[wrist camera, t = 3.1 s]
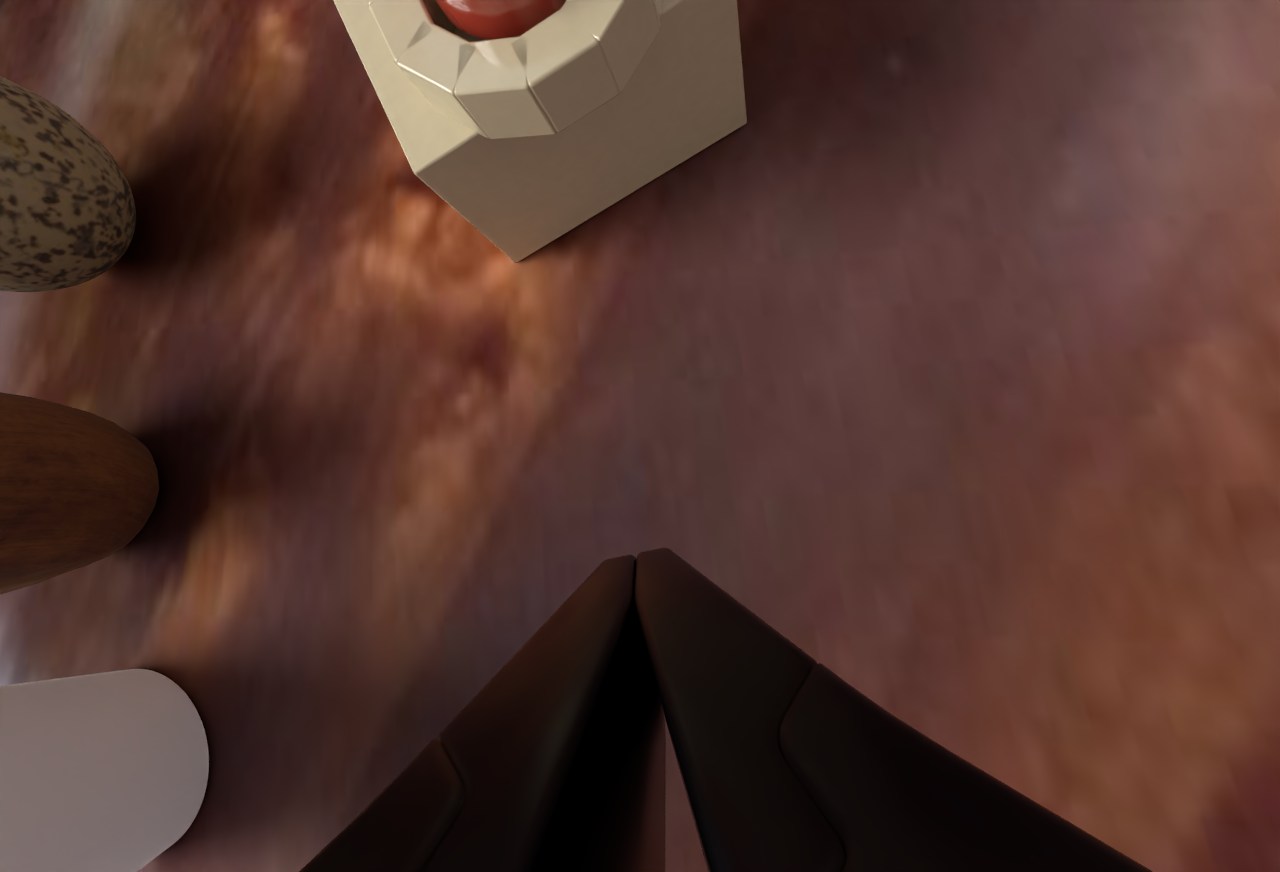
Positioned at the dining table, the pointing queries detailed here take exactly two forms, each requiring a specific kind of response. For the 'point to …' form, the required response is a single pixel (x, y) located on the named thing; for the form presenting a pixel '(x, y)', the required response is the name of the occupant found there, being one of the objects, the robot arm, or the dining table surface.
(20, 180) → the decorative egg
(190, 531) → the dining table surface
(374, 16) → the button base
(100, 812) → the cup
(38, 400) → the wooden figurine
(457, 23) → the red push button
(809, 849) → the robot arm
